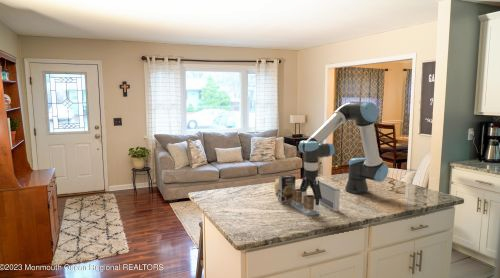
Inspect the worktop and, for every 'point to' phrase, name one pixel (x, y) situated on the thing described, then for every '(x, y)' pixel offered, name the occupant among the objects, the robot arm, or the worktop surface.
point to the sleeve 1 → (297, 196)
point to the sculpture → (276, 185)
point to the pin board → (300, 208)
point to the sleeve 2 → (308, 203)
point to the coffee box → (286, 188)
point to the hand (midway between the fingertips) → (309, 206)
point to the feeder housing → (329, 195)
